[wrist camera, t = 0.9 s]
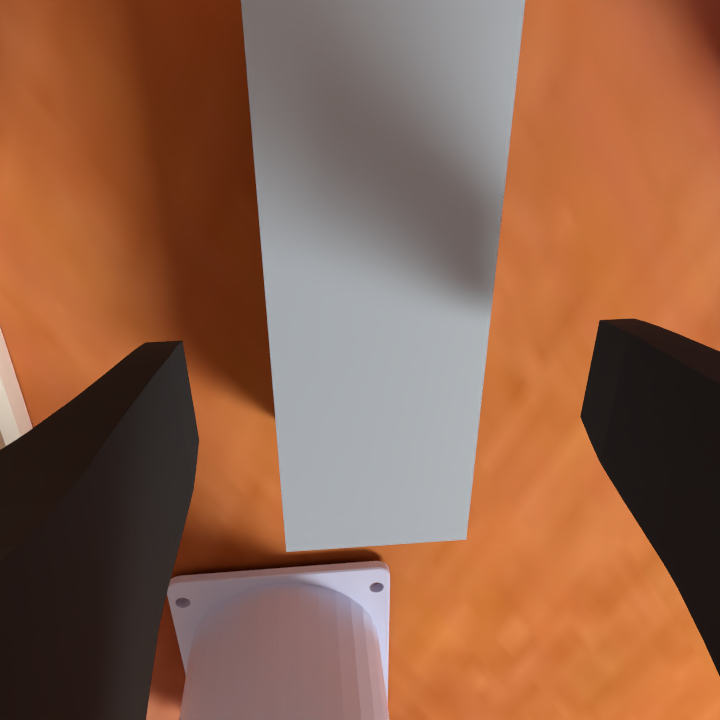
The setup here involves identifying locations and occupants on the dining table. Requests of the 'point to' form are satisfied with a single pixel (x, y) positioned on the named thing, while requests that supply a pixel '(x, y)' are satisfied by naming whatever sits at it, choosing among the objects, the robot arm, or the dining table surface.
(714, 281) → the dining table surface
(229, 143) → the dining table surface
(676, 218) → the dining table surface
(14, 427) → the peg frame
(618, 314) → the dining table surface
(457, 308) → the rectangular block
